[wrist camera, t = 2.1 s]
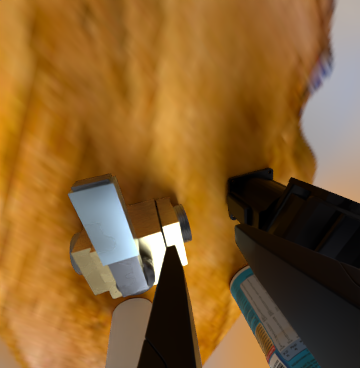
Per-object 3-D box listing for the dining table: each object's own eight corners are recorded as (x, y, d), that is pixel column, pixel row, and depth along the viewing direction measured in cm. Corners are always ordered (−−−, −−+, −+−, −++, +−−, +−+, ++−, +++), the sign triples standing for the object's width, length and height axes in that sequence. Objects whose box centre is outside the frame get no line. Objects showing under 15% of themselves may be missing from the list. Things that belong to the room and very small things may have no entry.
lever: (122, 165, 12) (119, 177, 9) (157, 275, 16) (160, 300, 14) (72, 177, 11) (57, 191, 9) (123, 287, 16) (121, 315, 13)
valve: (177, 192, 21) (193, 222, 15) (184, 230, 23) (201, 268, 18) (75, 219, 19) (49, 264, 13) (95, 257, 22) (80, 310, 16)
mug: (109, 328, 27) (93, 470, 16) (111, 298, 25) (92, 440, 14) (171, 318, 30) (191, 433, 19) (177, 291, 28) (204, 404, 17)
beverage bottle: (251, 254, 29) (446, 486, 11) (276, 270, 32) (455, 465, 14) (218, 288, 30) (345, 548, 12) (246, 300, 33) (376, 515, 15)
